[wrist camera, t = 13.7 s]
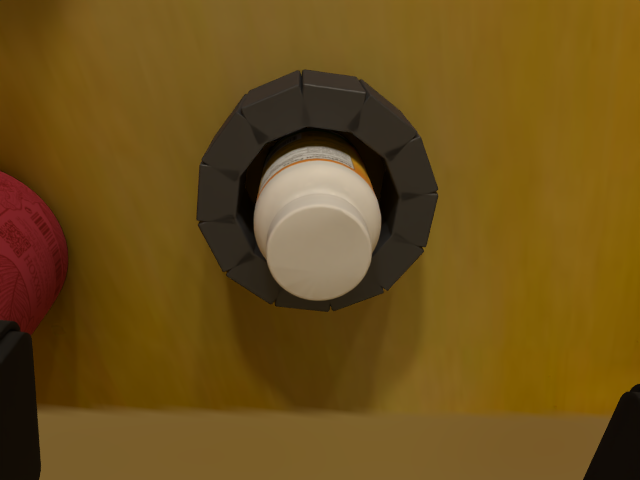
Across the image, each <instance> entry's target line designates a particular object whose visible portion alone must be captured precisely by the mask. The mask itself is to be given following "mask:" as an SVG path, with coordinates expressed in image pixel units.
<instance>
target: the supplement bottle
mask: <svg viewBox="0 0 640 480" xmlns="http://www.w3.org/2000/svg"><path fill="white" fill-rule="evenodd" d="M380 231H381V213H380V209H379V204H378V201H377V198H376V195H375V193H374V190H373V187H372V185H371V182H370V179H369V176H368V174H367V171H366V168H365V165H364V163H363V160H362V158H361V156H360V155H359V153H358V151H357V150H356V148H355V147H354V146H353V145H352V144H351V143H350V142H349V141H348V140H347V139H346V138H344V137H343V136H341V135H339V134H337V133H335V132H333V131H329V130H326V129H320V128H307V129H302V130H298V131H295V132H293V133H291V134H289V135H287V136H285V137H284V138H282V139H281V140H280V141H279V142H278V143H277V144H276V145H275V146H274V147H273V148H272V150H271V151H270V153H269V154H268V156H267V158H266V161H265V163H264V166H263V171H262V176H261V181H260V186H259V191H258V196H257V201H256V206H255V211H254V234H255V238H256V242H257V245H258V247H259V249H260V251H261V253H262V255H263V256H264V257H265V259H266V260H267V264H268V267H269V270H270V272H271V274H272V276H273V277H274V279H275V280H276V282H277V283H278V284H279V285H280V286H281V287H282V288H283V289H285V290H286V291H288V292H289V293H291V294H293V295H295V296H297V297H300V298H303V299H307V300H314V301H323V300H330V299H334V298H337V297H340V296H342V295H344V294H346V293H348V292H349V291H351V290H352V289H353V288H355V287H356V286H357V285H358V284H359V283H360V282H361V281H362V279H363V278H364V276H365V275H366V273H367V271H368V268H369V266H370V263H371V257H372V253H373V251H374V249H375V247H376V245H377V242H378V240H379V236H380Z"/></svg>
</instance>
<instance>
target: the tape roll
mask: <svg viewBox="0 0 640 480" xmlns="http://www.w3.org/2000/svg"><path fill="white" fill-rule="evenodd" d="M305 127H313V128H320V129H328V130H335V131H343V132H350V133H352V134H353V135H354V136H356V137H357V138H358V139H360V140H361V141H362V142H363V143H365V144H366V145H367V146H368V147H370V148H371V149H372V150H374V151H375V152H376V153H377V154H379V155H380V156H381V158H382V161H383V164H384V167H385V169H386V170H385V175H384V180H383V185H382V190H381V195H380V201H379V209H380V213H381V231H380V236H379V240H378V242H377V245H376V247H375V249H374V251H373V253H372V257H371V263H370V266H369V268H368V271H367V273H366V275H365V276H364V278H363V279H362V281H361V282H360V283H359V284H358V285H357V286H356V287H355V288H353V289H352V290H351V291H349V292H348V293H346V294H344V295H342V296H340V297H337V298H334V299H330V300H323V301H314V300H307V299H303V298H300V297H297V296H295V295H293V294H291V293H289V292H288V291H286V290H285V289H283V288H282V287H281V286H280V285H279V284H278V283H277V282H276V280H275V279H274V277H273V276H272V274H271V272H270V270H269V267H268V264H267V260H266V259H265V257H264V256H263V255H262V253H261V251H260V249H259V247H258V245H257V242H256V238H255V234H254V211H255V207H254V205H253V203H252V201H251V199H250V197H249V194H248V192H247V190H246V188H245V181H246V171H247V168H248V166H249V165H250V164H251V162H252V161H253V160H254V158H255V157H256V156H257V154H258V153H259V152H260V150H261V149H262V148H263V146H264V145H265V144H266V143H268V142H270V141H273V140H275V139H278V138H280V137H283V136H285V135H288V134H290V133H292V132H295V131H297V130H300V129H302V128H305ZM437 190H438V187H437V184H436V181H435V178H434V175H433V172H432V169H431V166H430V163H429V160H428V157H427V154H426V151H425V148H424V145H423V142H422V139H421V137H420V136H419V134H418V133H417V131H416V130H415V128H414V127H413V126H412V125H411V124H410V122H409V121H408V120H407V119H406V117H405V116H404V115H403V114H402V112H401V111H400V110H398V109H397V108H396V107H395V106H394V105H392V104H391V103H390V102H389V101H387V100H386V99H385V98H384V97H383V96H381V95H380V94H379V93H378V92H377V91H375V90H374V89H373V88H372V87H370V86H369V85H368V84H367V83H366V82H364V81H363V80H362V79H360V80H358V79H357V77H353V76H346V75H339V74H332V73H325V72H318V71H311V70H303V71H302V76H301V74H300V71H295V72H293V73H290V74H288V75H285V76H283V77H281V78H278V79H276V80H274V81H271V82H269V83H267V84H264V85H262V86H259V87H257V88H255V89H252V90H250V91H249V93H248V95H247V94H245V95H244V96H243V98H242V99H241V100H240V102H239V103H238V105H237V106H236V107H235V109H234V110H233V112H232V113H231V114H230V116H229V117H228V119H227V120H226V121H225V123H224V124H223V126H222V127H221V128H220V130H219V131H218V132H217V134H216V135H215V137H214V139H213V140H212V142H211V144H210V146H209V147H208V149H207V151H206V153H205V154H204V156H203V158H202V162H201V164H200V168H199V185H198V202H197V221H199V224H198V226H199V228H200V230H201V232H202V234H203V236H204V237H205V239H206V241H207V243H208V245H209V247H210V249H211V251H212V252H213V254H214V256H215V258H216V260H217V262H218V264H219V266H220V267H221V269H222V271H223V272H225V271H227V274H226V276H227V277H229V278H231V279H232V280H234V281H235V282H237V283H238V284H240V285H241V286H243V287H245V288H246V289H248V290H249V291H251V292H252V293H254V294H255V295H257V296H258V297H260V298H262V299H263V300H265V301H266V302H268V303H269V304H272V303H273V302H274V301H275V306H278V307H288V308H297V309H307V310H316V311H325V312H329V310H330V306H331V308H332V310H333V311H335V310H338V309H341V308H344V307H346V306H349V305H352V304H355V303H357V302H360V301H363V300H366V299H368V298H371V297H374V296H377V295H379V294H382V293H383V292H384V291H383V288H384V289H385V290H387V291H388V290H389V289H390V288H391V286H392V285H393V284H394V283H395V282H396V281H397V280H398V279H399V278H400V277H401V276H402V275H403V274H404V272H405V271H406V270H407V269H408V268H409V267H410V266H411V265H412V264H413V263H414V262H415V261H416V260H417V258H418V257H419V256H420V255H421V254H422V253H423V252H424V250H423V248H422V247H426V245H427V241H428V237H429V233H430V228H431V224H432V220H433V216H434V211H435V207H436V203H437V199H438V194H437V192H436V191H437Z"/></svg>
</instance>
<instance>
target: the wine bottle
mask: <svg viewBox="0 0 640 480" xmlns="http://www.w3.org/2000/svg"><path fill="white" fill-rule="evenodd" d="M67 269H68V249H67V244H66V240H65V236H64V234H63V231H62V228H61V226H60V224H59V222H58V220H57V219H56V217H55V215H54V214H53V213H52V211H51V210H50V208H49V207H48V206H47V205H46V204H45V202H44V201H43V200H42V199H41V198H40V197H39V196H38V195H37V194H36V193H35V192H34V191H33V190H31V189H30V188H29V187H27V186H26V185H25V184H23V183H22V182H20V181H18V180H17V179H15V178H14V177H12V176H10V175H8V174H5V173H3V172H1V171H0V320H7V321H15V322H17V323H18V325H19V327H20V330H21V332H27V333H29V334H30V335H32V333H33V332H34V330H35V329H36V328H37V326H38V325H39V323H40V322H41V321H42V319H43V318H44V316H45V315H46V314H47V312H48V311H49V309H50V308H51V306H52V305H53V303H54V302H55V300H56V298H57V296H58V295H59V293H60V291H61V289H62V287H63V284H64V281H65V278H66V273H67Z"/></svg>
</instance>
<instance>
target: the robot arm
mask: <svg viewBox="0 0 640 480" xmlns="http://www.w3.org/2000/svg"><path fill="white" fill-rule="evenodd" d="M40 471H41V461H40V447H39V433H38V419H37V404H36V390H35V376H34V361H33V347H32V338H31V335H30V334H29V333H27V332H21V330H20V327H19V325H18V323H17V322H15V321H7V320H0V480H39V477H40ZM583 480H640V384H637V385H635V386H634V387H632V389H631V390H630V392H626V393H624V394H623V395H622V397H621V398H620V400H619V402H618V404H617V407H616V409H615V411H614V413H613V415H612V418H611V420H610V422H609V424H608V427H607V429H606V431H605V433H604V435H603V437H602V439H601V442H600V444H599V446H598V448H597V451H596V453H595V455H594V457H593V459H592V461H591V463H590V466H589V468H588V470H587V472H586V474H585V477H584V479H583Z"/></svg>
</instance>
